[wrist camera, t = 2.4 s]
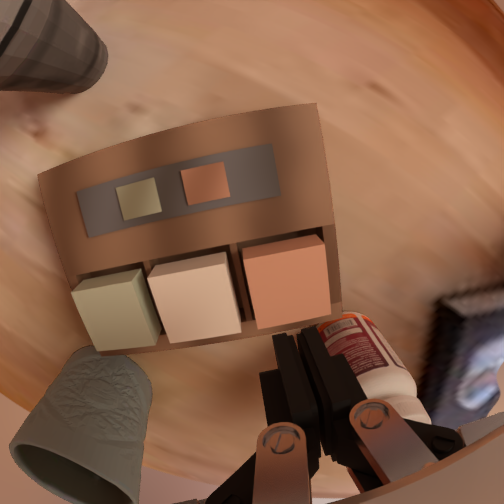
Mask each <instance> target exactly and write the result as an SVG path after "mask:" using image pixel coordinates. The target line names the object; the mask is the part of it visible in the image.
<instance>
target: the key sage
mask: <svg viewBox="0 0 504 504" xmlns="http://www.w3.org/2000/svg"><path fill="white" fill-rule="evenodd" d="M71 294H72V297H73V299H74V302H75V304H76V307H77V309H78V311H79V314H80V316H81V318H82V321H83V323H84V325H85V327H86V329H87V332H88V334H89V336H90V338H91V340H92V342H93V344H94V346H95V348H96V350H97V351H107V350H118V349H128V348H137V347H146V346H154V345H156V343H157V340H158V337H159V335H160V332H161V329H162V328H161V325H160V323H159V320H158V317H157V315H156V312H155V309H154V306H153V303H152V300H151V298H150V295H149V292H148V289H147V286H146V283H145V280H144V277H143V273H142V270H141V268H140V269H135V270H130V271H125V272H120V273H115V274H110V275H105V276H100V277H95V278H90V279H85V280H83V281H82V282H81V283H80V284H79V285H78V286H77V287H76V288H75V289H74V290H73V291H72V292H71Z"/></svg>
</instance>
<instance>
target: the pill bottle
mask: <svg viewBox="0 0 504 504" xmlns="http://www.w3.org/2000/svg"><path fill="white" fill-rule="evenodd" d="M316 328H317V330H318V332H319V334H320V336H321V338H322V340H323V342H324V344H325V346H326V348H327V350H328V352H329V354H330V356H334V355H338V354H341V353H342V354H344V356H345V357H346V359H347V361H348V363H349V365H350V367H351V368H352V370H353V372H354V374H355V376H356V378H357V380H358V381H359V383H360V385H361V387H362V389H363V391H364V393H365V394H366V396H367V398H368V399H381V400H384V401H386V402H388V403H389V404H390V405H392V407H393V408H394V409H395V410H396V411H397V412H398V414H399V415H400V416H401V417H402V418H405V419H409V420H413V421H418V422H422V423H427V424H431V420H430V418H429V416H428V414H427V412H426V411H425V409H424V407H423V405H422V403H421V402H420V400H419V399H418V398H416V395H417V388H416V384H415V381H414V379H413V378H412V376H411V374H410V373H409V372H408V370H407V369H406V367H405V366H404V364H403V363H402V362H401V360H400V359H399V357H398V356H397V355H396V353H395V352H394V350H393V349H392V348H391V346H390V345H389V343H388V342H387V341H386V339H385V338H384V337H383V335H382V334H381V332H380V331H379V330H378V328H377V327H376V326H375V325H374V323H373V322H372V321H371V320H370V319H369V318H368V317H367V316H365V315H363V314H361V313H358V312H351V311H345V312H342V318H340V319H336V320H332V321H327V322H323V323H319V324H318V325H317V326H316Z"/></svg>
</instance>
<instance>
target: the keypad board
mask: <svg viewBox="0 0 504 504" xmlns="http://www.w3.org/2000/svg"><path fill="white" fill-rule="evenodd" d="M37 176H38V180H39V185H40V189H41V194H42V198H43V202H44V206H45V210H46V213H47V217H48V221H49V224H50V228H51V231H52V234H53V238H54V241H55V244H56V247H57V250H58V253H59V256H60V259H61V262H62V265H63V268H64V271H65V274H66V276H67V279H68V282H69V284H70V287H71V289H72V291H73V290H74V289H75V288H76V287H77V286H78V285H79V284H80V283H81V282H82V281H83V280H85V279H90V278H95V277H100V276H105V275H110V274H115V273H120V272H125V271H130V270H135V269H140V268H141V270H142V273H143V277H144V280H145V283H146V286H147V289H148V292H149V295H150V298H151V300H152V303H153V306H154V309H155V312H156V315H157V317H158V320H159V323H160V325H161V328H162V329H161V332H160V335H159V337H158V340H157V343H156V345H154V346H146V347H137V348H128V349H118V350H107V351H99V353H100V355H101V357H102V356H115V355H126V354H136V353H145V352H154V351H163V350H171V349H179V348H186V347H193V346H200V345H207V344H214V343H220V342H226V341H232V340H238V339H244V338H249V337H255V336H260V335H266V334H271V333H276V332H281V331H286V330H291V329H296V328H300V327H305V326H310V325H314V324H319V323H323V322H327V321H332V320H336V319H340V318H342V300H341V285H340V272H339V260H338V249H337V239H336V229H335V221H334V212H333V204H332V196H331V188H330V181H329V174H328V167H327V161H326V155H325V148H324V142H323V136H322V131H321V125H320V120H319V114H318V109H317V104H316V103H310V104H301V105H293V106H285V107H278V108H271V109H264V110H258V111H252V112H246V113H241V114H235V115H230V116H225V117H220V118H215V119H210V120H206V121H201V122H197V123H193V124H188V125H184V126H180V127H176V128H172V129H168V130H165V131H161V132H157V133H154V134H150V135H146V136H143V137H140V138H136V139H133V140H130V141H126V142H123V143H120V144H117V145H114V146H111V147H108V148H105V149H102V150H99V151H96V152H93V153H91V154H88V155H85V156H82V157H80V158H77V159H74V160H72V161H69V162H67V163H64V164H62V165H59V166H57V167H54V168H52V169H49V170H47V171H45V172H42V173H40V174H38V175H37ZM314 234H316V235H317V236H318V237H319V238H320V239H321V240H322V242H323V243H324V244H325V251H326V261H327V270H328V281H329V292H330V304H331V314H330V315H326V316H321V317H317V318H312V319H308V320H303V321H298V322H294V323H289V324H284V325H279V326H274V327H269V328H263V329H258V327H257V323H256V318H255V313H254V309H253V304H252V299H251V295H250V290H249V285H248V281H247V276H246V271H245V266H244V261H243V251H242V248H247V247H252V246H257V245H262V244H267V243H273V242H278V241H283V240H288V239H293V238H299V237H304V236H309V235H314ZM221 252H226V255H227V259H228V263H229V268H230V272H231V277H232V281H233V285H234V290H235V294H236V298H237V302H238V307H239V311H240V315H241V333H236V334H230V335H224V336H218V337H212V338H205V339H199V340H192V341H185V342H178V343H170V342H169V339H168V336H167V334H166V331H165V328H164V326H163V323H162V320H161V317H160V315H159V312H158V309H157V306H156V303H155V300H154V297H153V294H152V291H151V288H150V285H149V282H148V279H147V278H148V276H149V275H150V273H151V271H152V270H153V268H154V267H155V265H160V264H165V263H170V262H175V261H180V260H185V259H191V258H196V257H201V256H206V255H211V254H216V253H221Z"/></svg>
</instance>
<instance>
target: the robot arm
mask: <svg viewBox="0 0 504 504" xmlns="http://www.w3.org/2000/svg"><path fill="white" fill-rule="evenodd" d="M272 339H273V344H274V349H275V354H276V360H277V365H278V369H275V370H270V371H266V372H260V373H259V376H260V382H261V388H262V394H263V400H264V406H265V412H266V418H267V424H268V427H266V428H265V429H264V430H263V431H262V432H261V433H260V435H259V436H258V440H257V449H256V452H255V453H254V454H253V455H252V456H251V457H250V458H249V459H248V460H247V461H246V462H245V463H244V464H243V465H242V466H241V467H240V468H239V469H238V470H237V471H236V472H235V473H234V474H233V475H232V476H231V477H229V478H228V479H227V480H226V481H225V482H224V483H223V484H222V485H221V486H220V487H218V488H217V489H216V490H215V491H214V492H213V493H212V494H211V495H210V496H209V497H208V498H207V499H203V500H199V501H198V500H197V499H193V500H188V501H184V502H179V503H174V504H312V492H311V478H312V477H313V476H314V474H315V473H316V472H317V471H318V469H319V458H320V457H321V446H320V441H321V444H322V447H323V451H324V454H325V456H327V455H331V457H332V461H333V462H334V461H337V463H338V464H341V465H343V466H346V468H347V471H348V473H349V474H350V476H351V478H352V480H353V481H354V483H355V485H356V486H357V488H358V490H359V491H360V493H361V494H358V495H355V496H352V497H349V498H345V499H342V500H339V501H335V502H331V503H327V504H504V412H500V413H497V414H495V415H492V416H489V417H486V418H483V419H480V420H477V421H474V422H471V423H468V424H465V425H462V426H459V428H458V429H457V430H453V429H450V428H446V427H441V426H436V425H431V424H427V423H422V422H418V421H413V420H409V419H405V418H402V417H401V416H400V415H399V414H398V412H397V411H396V410H395V409H394V408H393V407H392V405H390V404H389V403H388V402H386V401H384V400H381V399H368V398H367V396H366V394H365V393H364V391H363V389H362V387H361V385H360V383H359V381H358V380H357V378H356V376H355V374H354V372H353V370H352V368H351V367H350V365H349V363H348V361H347V359H346V357H345V356H344V354H342V353H341V354H338V355H334V356H330V354H329V352H328V350H327V348H326V346H325V344H324V342H323V340H322V338H321V336H320V334H319V332H318V330H317V328H316V326H313V327H309V328H304V329H301V333H299V334H297V342H298V349H297V346H296V343H295V341H294V338H293V335H291V336H287V334H286V333H282V334H278V335H273V336H272ZM298 350H299V352H298Z"/></svg>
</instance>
